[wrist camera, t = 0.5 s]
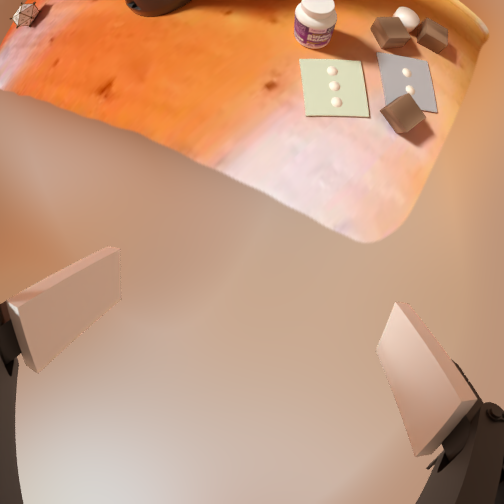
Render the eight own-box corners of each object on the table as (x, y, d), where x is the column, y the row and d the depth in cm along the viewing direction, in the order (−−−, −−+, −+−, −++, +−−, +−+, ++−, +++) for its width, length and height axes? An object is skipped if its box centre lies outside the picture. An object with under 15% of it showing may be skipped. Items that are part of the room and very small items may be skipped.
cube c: (379, 110, 32) (389, 107, 28) (397, 97, 30) (408, 92, 27) (396, 133, 32) (407, 132, 29) (413, 119, 31) (426, 117, 27)
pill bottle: (308, 55, 31) (313, 23, 22) (287, 31, 30) (286, -4, 21) (337, 42, 30) (349, 10, 20) (316, 18, 29) (321, -16, 20)
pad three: (299, 60, 31) (299, 59, 31) (359, 62, 30) (360, 61, 30) (305, 116, 34) (305, 115, 33) (368, 117, 32) (369, 116, 32)
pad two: (376, 53, 29) (376, 52, 29) (426, 62, 28) (427, 61, 28) (385, 105, 32) (386, 105, 31) (436, 112, 30) (437, 112, 30)
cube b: (416, 42, 27) (418, 27, 26) (436, 53, 27) (437, 38, 26) (426, 33, 23) (427, 17, 22) (447, 45, 23) (447, 29, 22)
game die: (46, 20, 34) (34, 15, 26) (21, 36, 32) (7, 34, 25) (42, -2, 27) (31, -9, 20) (17, 13, 26) (4, 10, 19)
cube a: (370, 28, 28) (376, 17, 24) (390, 27, 27) (398, 16, 23) (381, 48, 29) (389, 38, 25) (401, 47, 28) (410, 37, 24)
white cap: (389, 12, 26) (394, 4, 23) (409, 17, 26) (415, 9, 23) (394, 30, 27) (400, 22, 24) (415, 34, 27) (422, 27, 24)
